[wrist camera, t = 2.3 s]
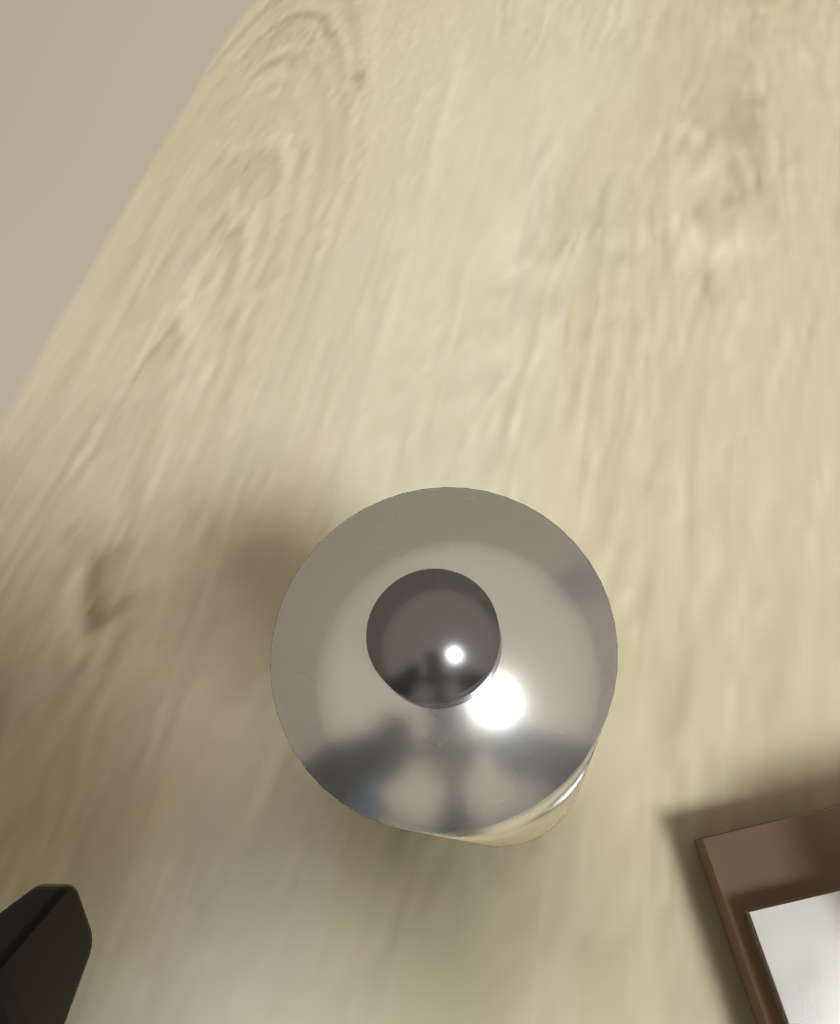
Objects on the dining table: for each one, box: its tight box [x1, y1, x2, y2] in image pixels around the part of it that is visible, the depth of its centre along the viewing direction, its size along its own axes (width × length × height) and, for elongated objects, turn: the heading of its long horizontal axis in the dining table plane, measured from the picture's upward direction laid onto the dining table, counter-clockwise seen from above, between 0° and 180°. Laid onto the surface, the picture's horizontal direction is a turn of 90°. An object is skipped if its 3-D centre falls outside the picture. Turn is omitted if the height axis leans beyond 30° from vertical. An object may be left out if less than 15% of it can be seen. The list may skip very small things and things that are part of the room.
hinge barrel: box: [270, 487, 618, 846], centre depth 14 cm, size 4×4×12 cm
